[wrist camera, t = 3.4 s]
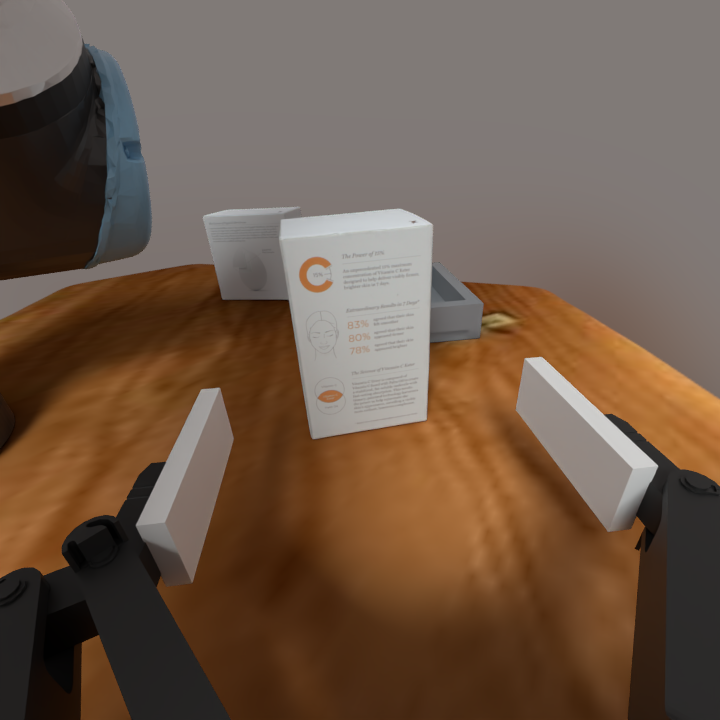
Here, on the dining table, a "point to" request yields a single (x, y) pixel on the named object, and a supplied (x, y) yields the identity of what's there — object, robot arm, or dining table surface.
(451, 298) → the tray
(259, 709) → the dining table surface
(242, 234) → the skincare box
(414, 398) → the small box
